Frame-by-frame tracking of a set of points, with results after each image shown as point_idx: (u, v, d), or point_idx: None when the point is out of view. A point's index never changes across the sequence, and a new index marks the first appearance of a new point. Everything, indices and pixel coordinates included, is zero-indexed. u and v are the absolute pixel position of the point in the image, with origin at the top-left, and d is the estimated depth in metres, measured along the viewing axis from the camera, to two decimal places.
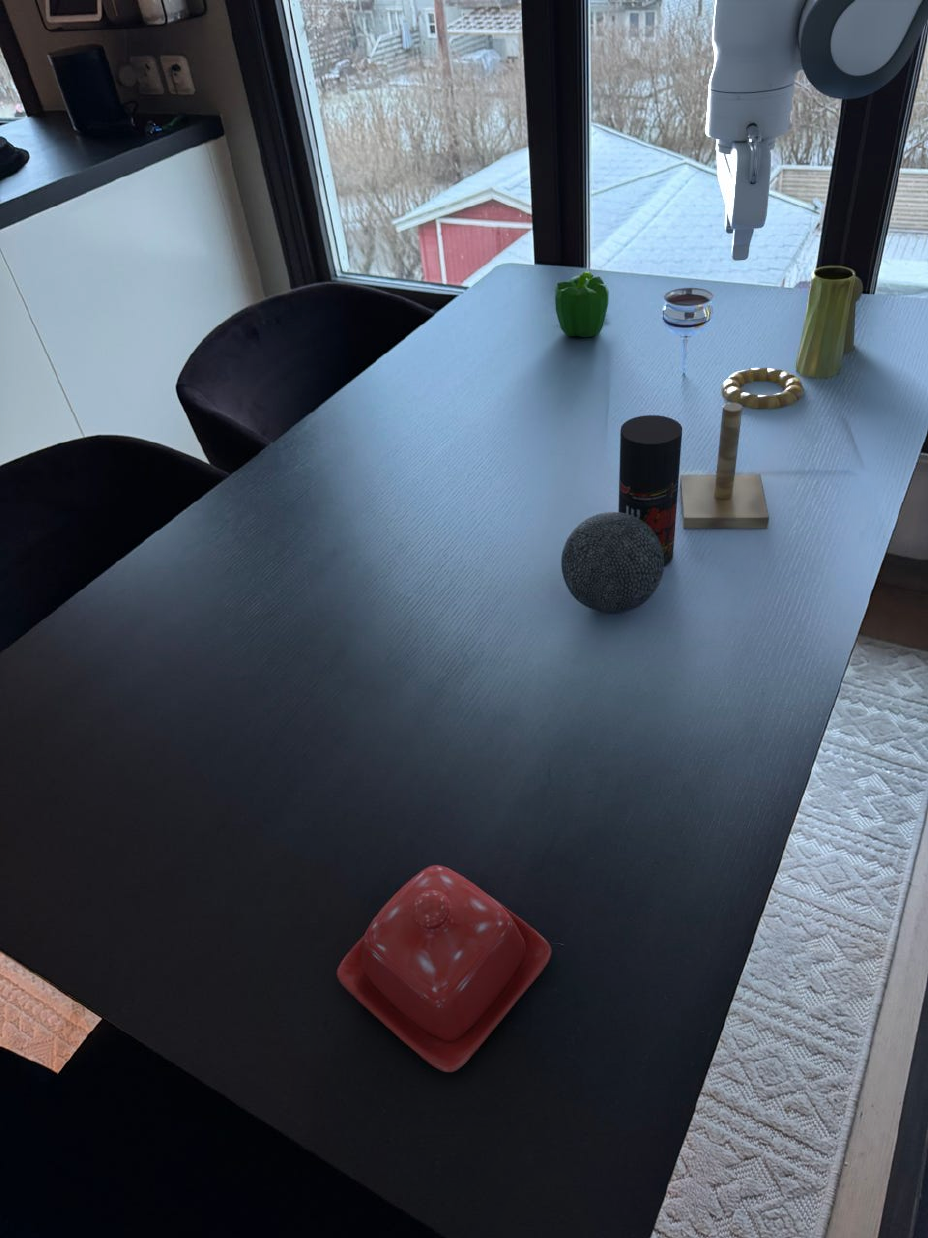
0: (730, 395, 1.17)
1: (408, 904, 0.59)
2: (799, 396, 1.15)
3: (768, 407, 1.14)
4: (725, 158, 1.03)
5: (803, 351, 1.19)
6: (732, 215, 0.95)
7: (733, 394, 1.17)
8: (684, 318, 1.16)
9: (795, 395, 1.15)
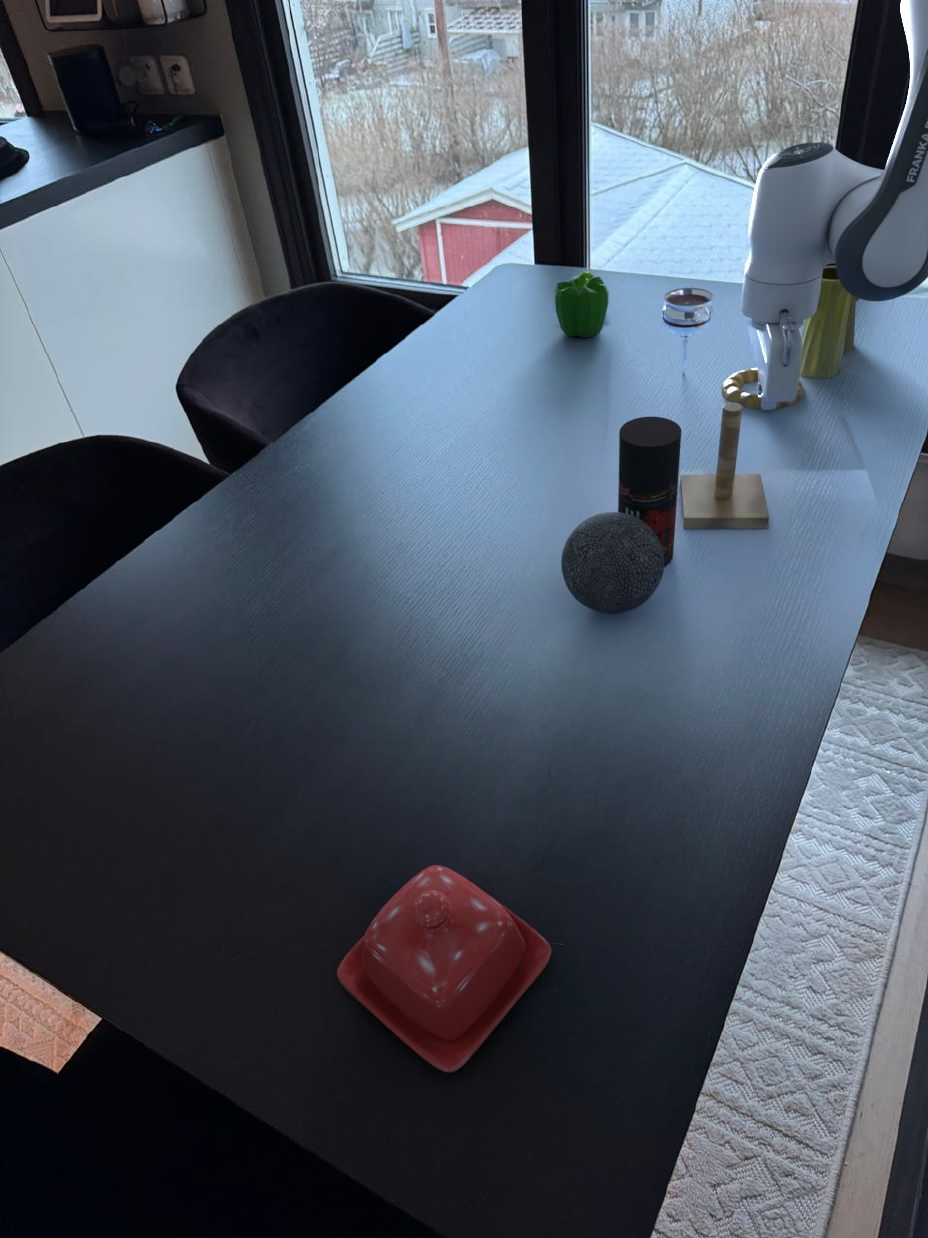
0: (730, 395, 1.17)
1: (408, 904, 0.59)
2: (799, 396, 1.15)
3: None
4: None
5: (803, 351, 1.19)
6: (766, 391, 1.04)
7: (733, 394, 1.17)
8: (684, 318, 1.16)
9: None
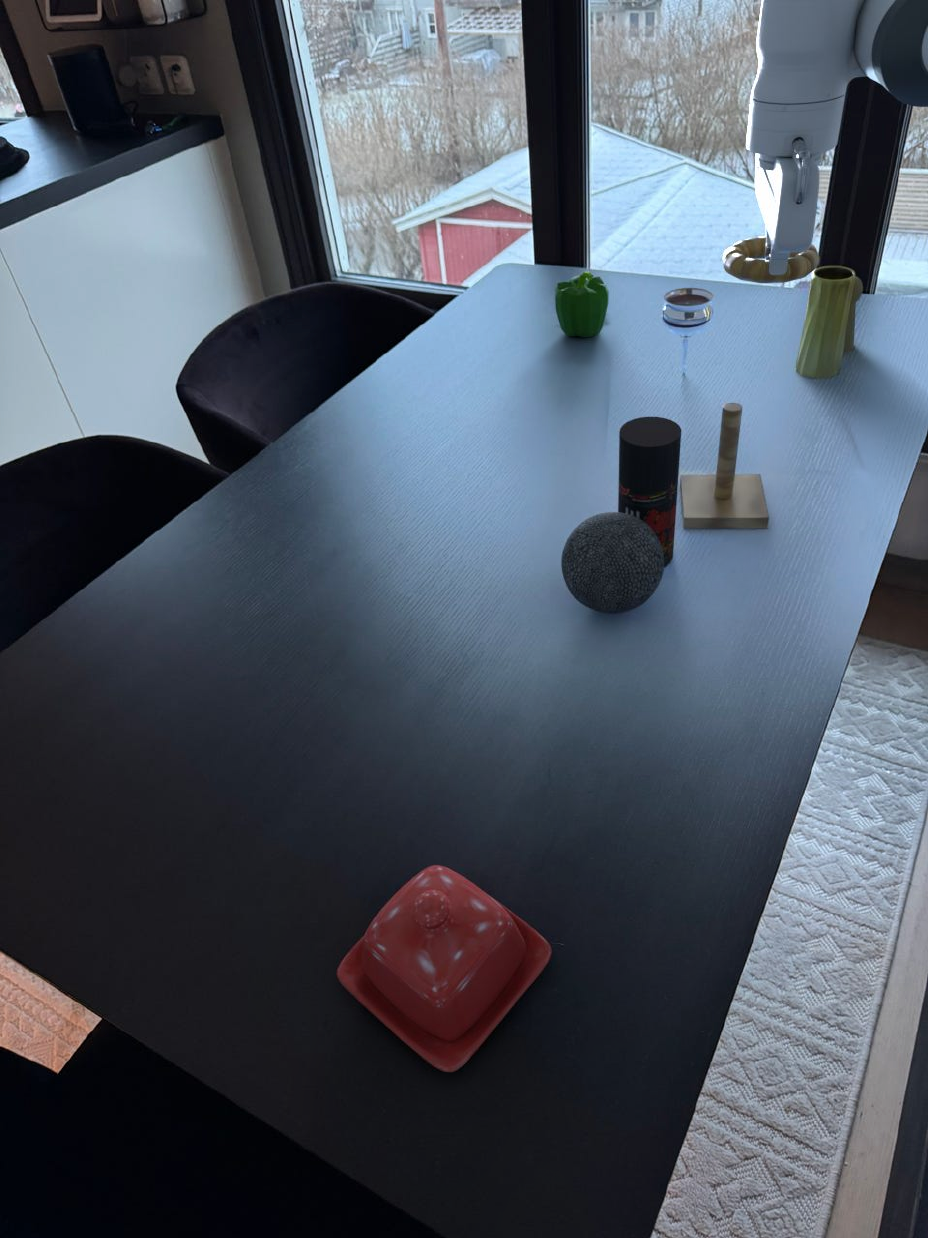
0: (733, 261, 0.99)
1: (408, 904, 0.59)
2: (814, 262, 0.98)
3: None
4: (765, 174, 0.95)
5: (803, 351, 1.19)
6: (775, 237, 0.87)
7: (736, 260, 0.99)
8: (684, 318, 1.16)
9: (809, 260, 0.97)
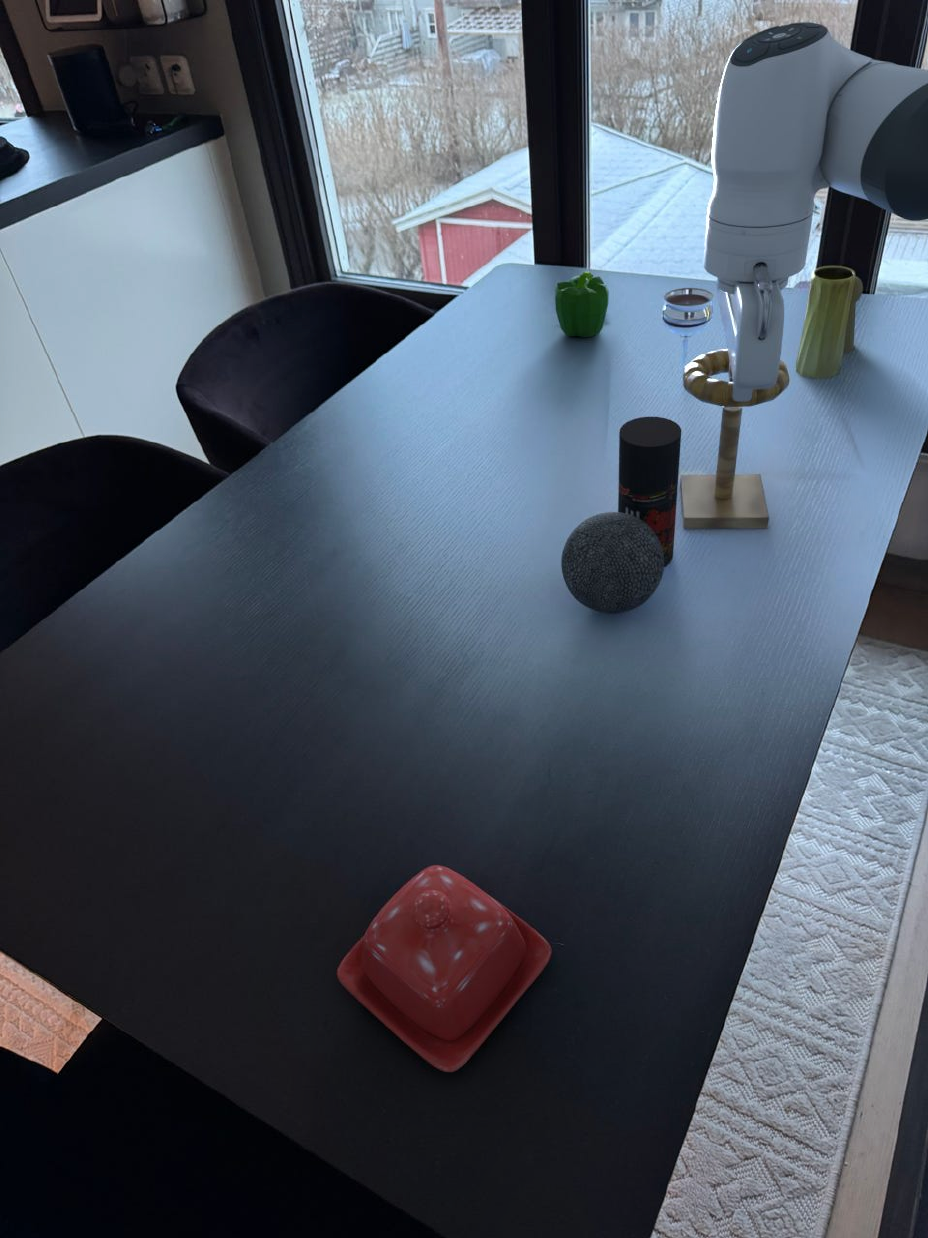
0: (693, 382, 0.89)
1: (408, 904, 0.59)
2: (783, 384, 0.88)
3: None
4: None
5: (803, 351, 1.19)
6: (736, 374, 0.77)
7: (696, 381, 0.89)
8: (684, 318, 1.16)
9: (777, 382, 0.87)
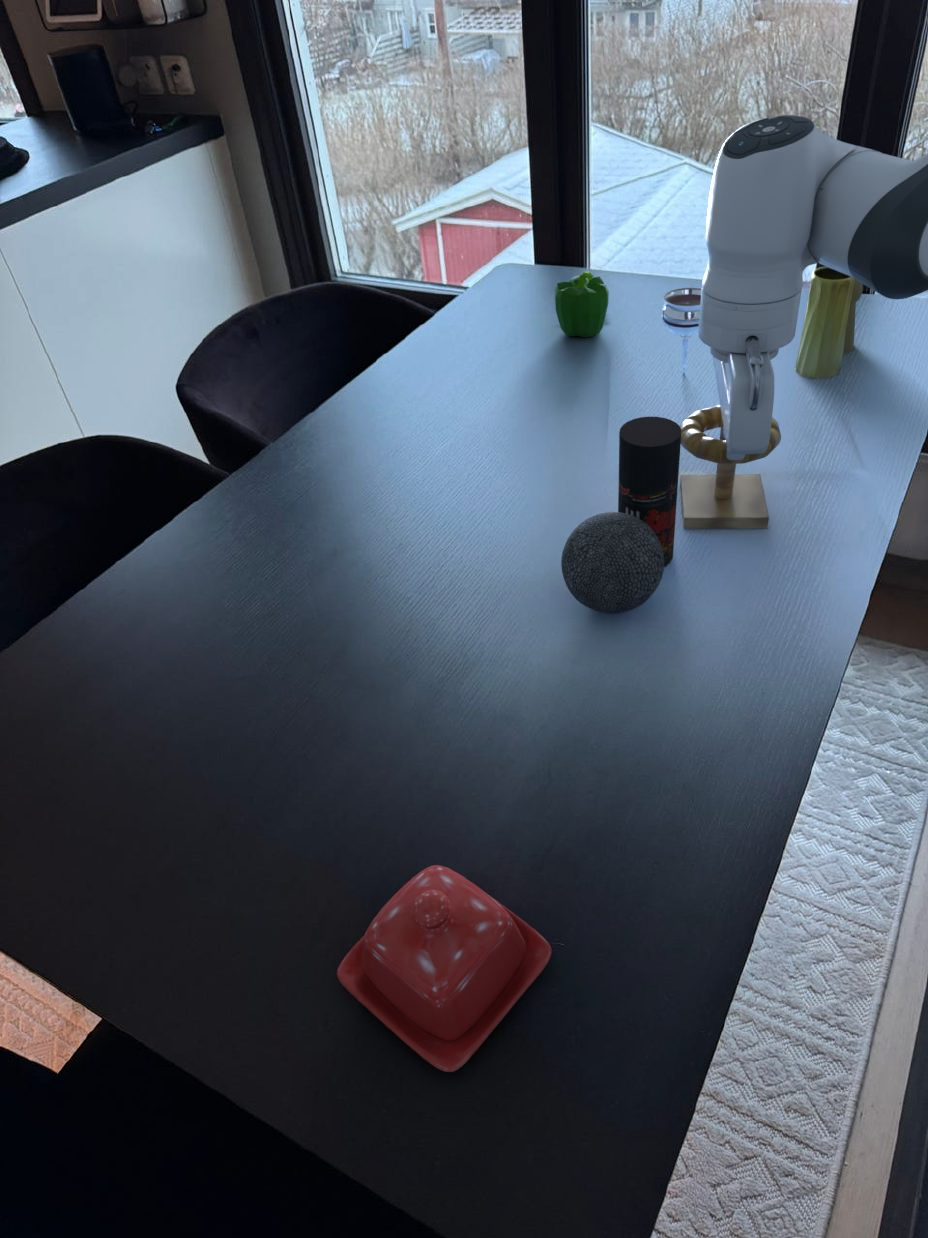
0: (689, 439, 0.93)
1: (408, 904, 0.59)
2: (774, 442, 0.92)
3: None
4: None
5: (803, 351, 1.19)
6: (729, 440, 0.81)
7: (692, 438, 0.93)
8: (684, 318, 1.16)
9: (769, 441, 0.91)
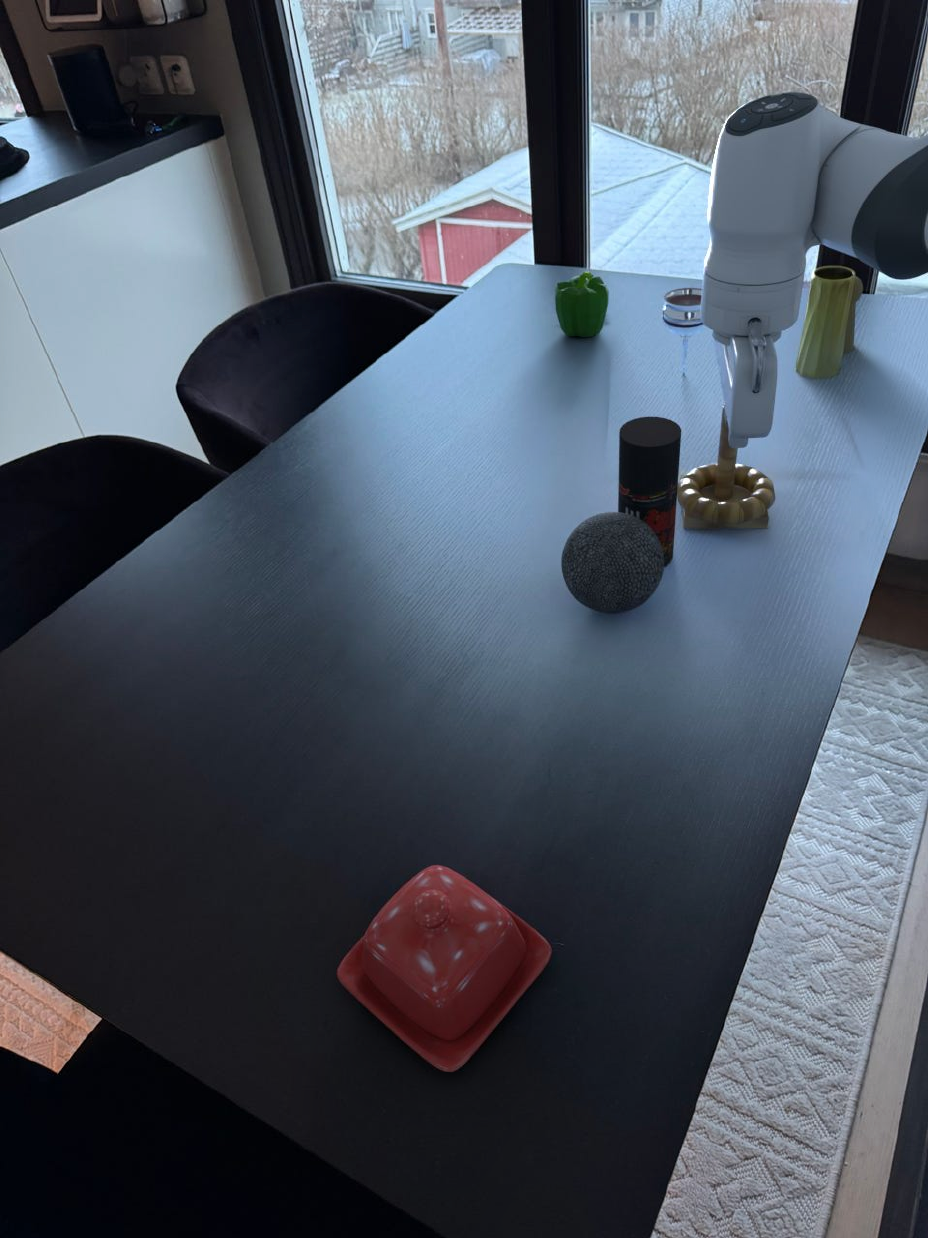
0: (686, 500, 0.97)
1: (408, 904, 0.59)
2: (769, 503, 0.95)
3: (730, 518, 0.94)
4: None
5: (803, 351, 1.19)
6: (731, 424, 0.80)
7: (689, 499, 0.96)
8: (684, 318, 1.16)
9: (763, 503, 0.95)
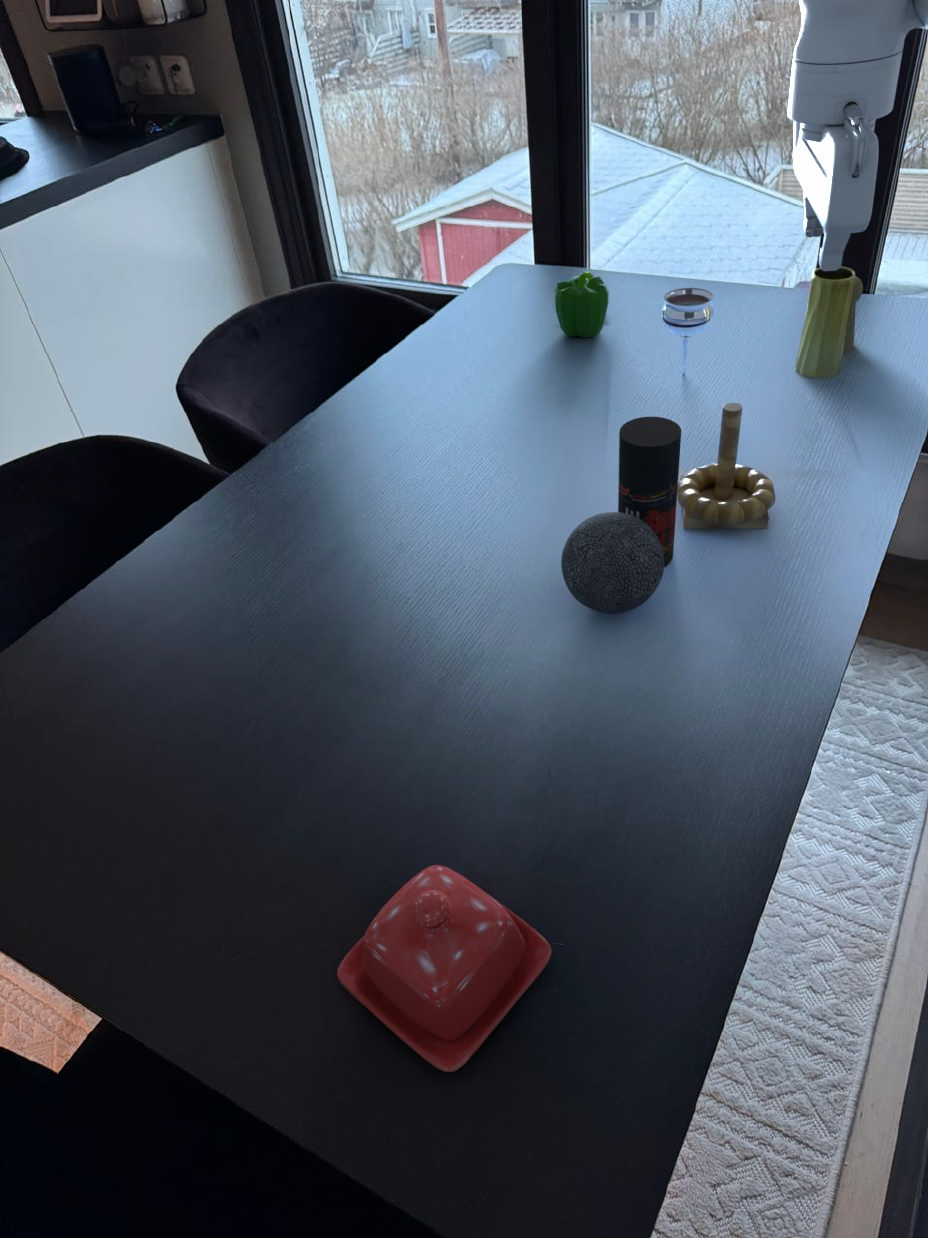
0: (686, 499, 0.97)
1: (408, 904, 0.59)
2: (769, 504, 0.95)
3: (730, 518, 0.94)
4: (807, 146, 0.85)
5: (803, 351, 1.19)
6: (827, 217, 0.76)
7: (689, 499, 0.96)
8: (684, 318, 1.16)
9: (763, 503, 0.95)
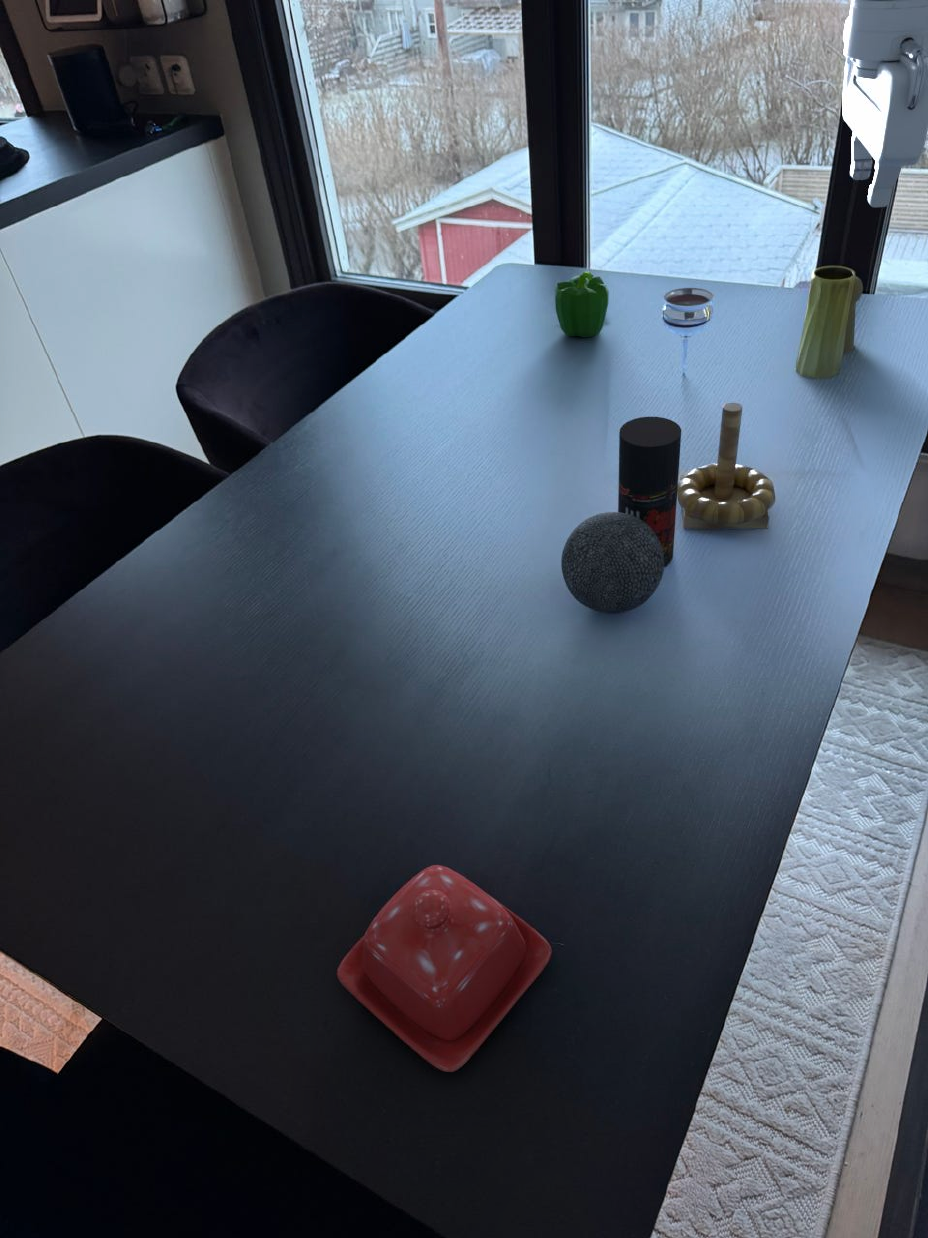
0: (686, 499, 0.97)
1: (408, 904, 0.59)
2: (769, 504, 0.95)
3: (730, 518, 0.94)
4: (859, 88, 0.88)
5: (803, 351, 1.19)
6: (882, 149, 0.80)
7: (689, 499, 0.96)
8: (684, 318, 1.16)
9: (763, 503, 0.95)
